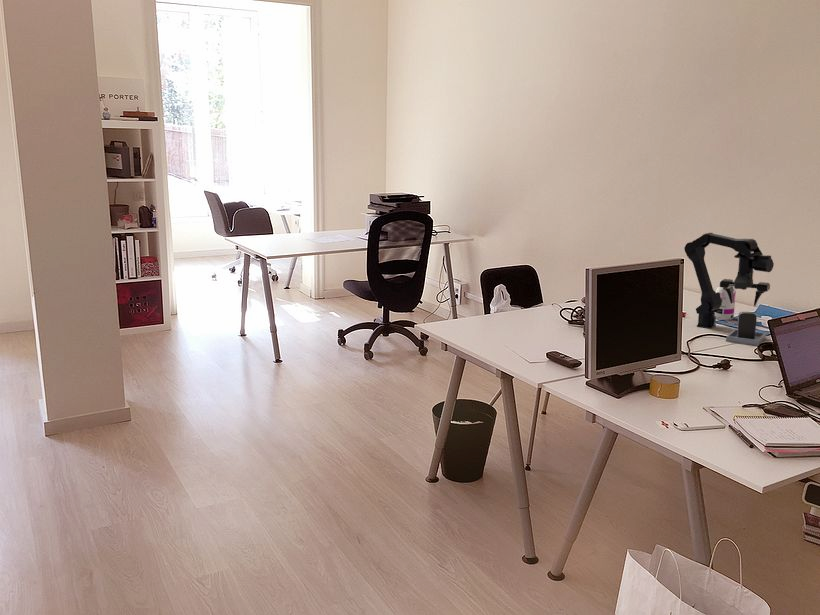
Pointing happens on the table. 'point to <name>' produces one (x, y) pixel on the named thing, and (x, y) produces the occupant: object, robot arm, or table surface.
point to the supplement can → (725, 305)
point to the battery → (746, 325)
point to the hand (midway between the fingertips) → (743, 304)
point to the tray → (733, 338)
